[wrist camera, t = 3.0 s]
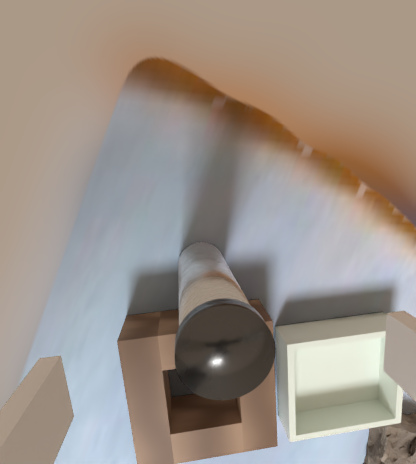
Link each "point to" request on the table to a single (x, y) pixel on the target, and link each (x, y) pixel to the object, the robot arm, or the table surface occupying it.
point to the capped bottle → (218, 329)
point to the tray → (334, 377)
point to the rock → (393, 443)
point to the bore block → (186, 400)
